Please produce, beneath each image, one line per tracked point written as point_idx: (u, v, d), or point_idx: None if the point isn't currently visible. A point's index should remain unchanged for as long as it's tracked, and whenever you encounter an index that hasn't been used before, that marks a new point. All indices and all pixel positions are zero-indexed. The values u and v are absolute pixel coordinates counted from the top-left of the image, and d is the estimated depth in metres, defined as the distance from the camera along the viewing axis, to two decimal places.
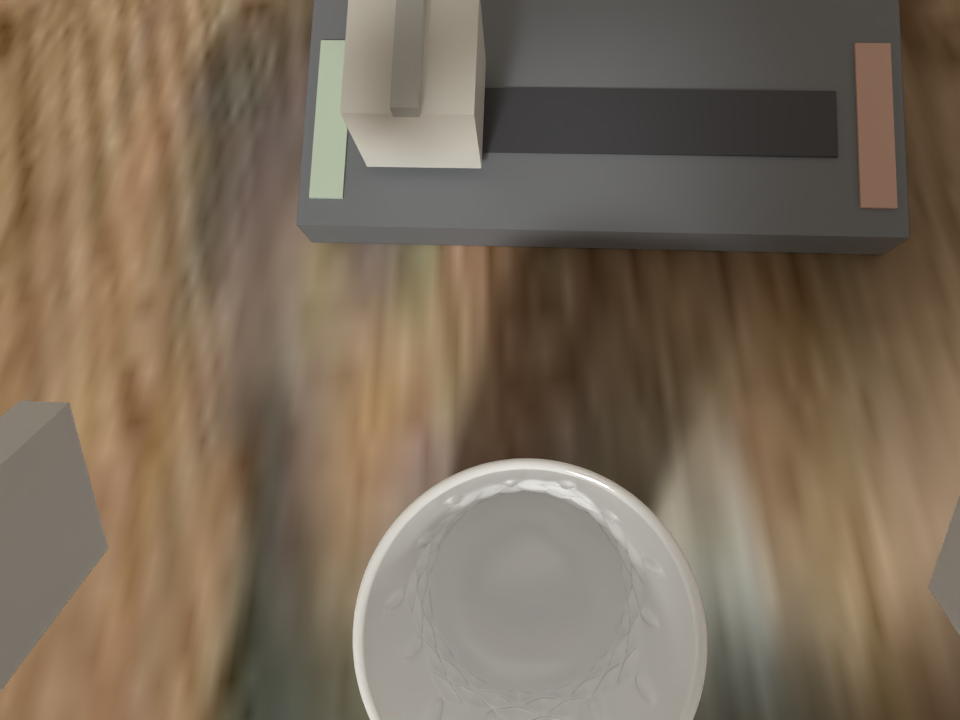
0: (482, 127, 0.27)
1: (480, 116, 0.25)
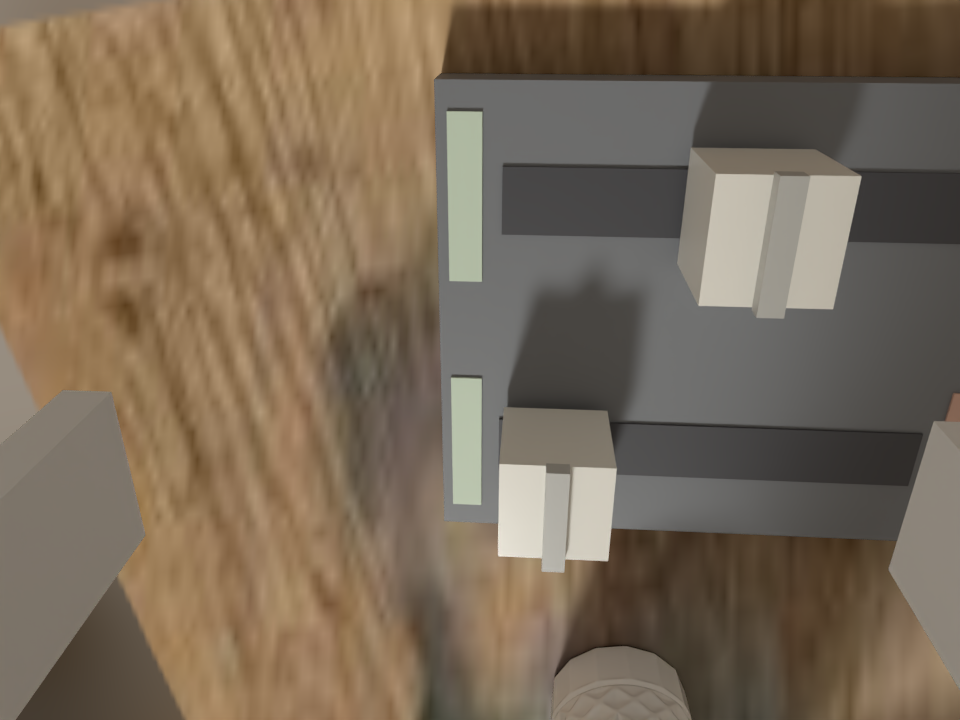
0: None
1: None
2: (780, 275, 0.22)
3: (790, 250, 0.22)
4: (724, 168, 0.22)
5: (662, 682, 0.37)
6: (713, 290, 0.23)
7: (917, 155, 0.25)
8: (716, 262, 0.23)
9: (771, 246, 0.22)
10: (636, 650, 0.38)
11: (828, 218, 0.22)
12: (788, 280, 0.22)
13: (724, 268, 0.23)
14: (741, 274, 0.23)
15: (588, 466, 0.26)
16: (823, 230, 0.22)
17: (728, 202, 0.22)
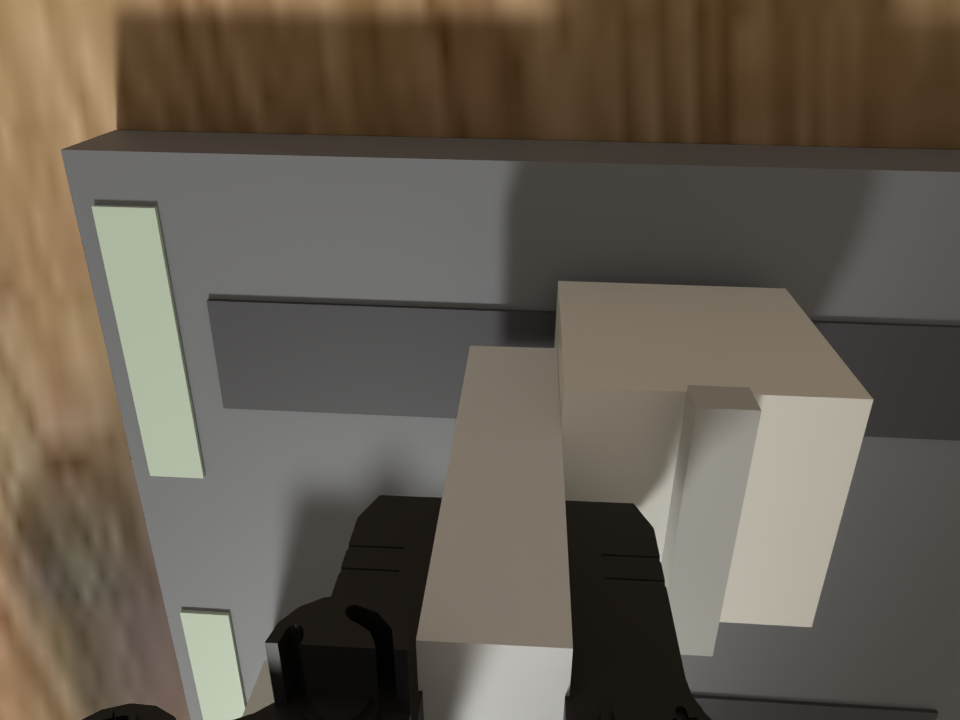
0: None
1: None
2: (703, 585, 0.11)
3: (722, 543, 0.10)
4: (590, 363, 0.11)
5: None
6: None
7: (942, 296, 0.14)
8: None
9: (681, 536, 0.10)
10: None
11: (802, 474, 0.11)
12: (719, 594, 0.11)
13: None
14: None
15: None
16: (792, 495, 0.11)
17: (594, 439, 0.11)
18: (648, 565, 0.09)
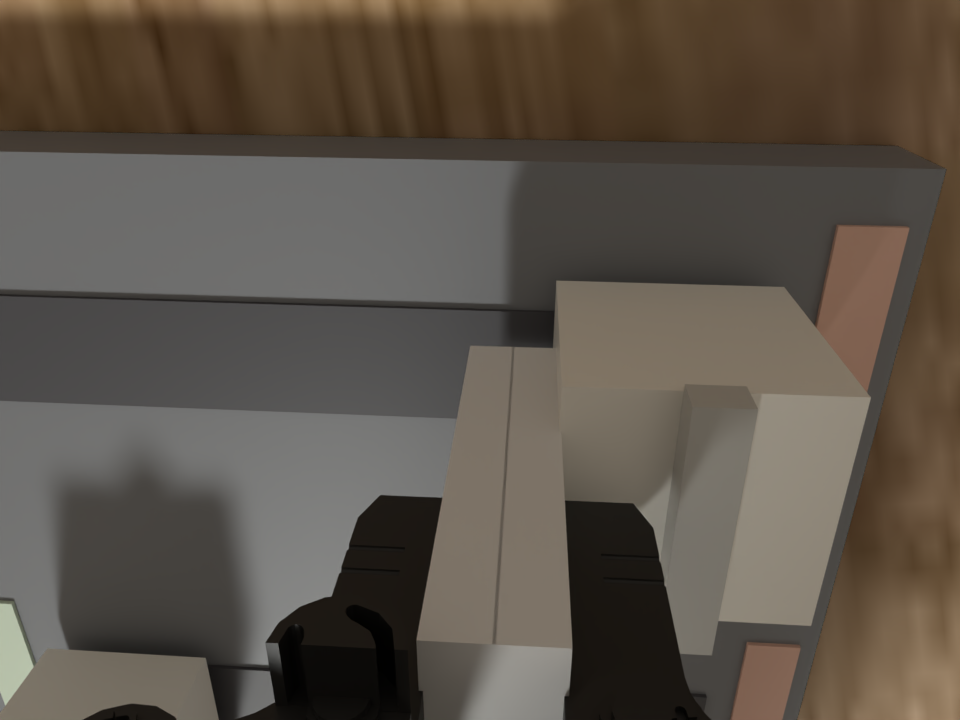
0: None
1: None
2: (702, 585, 0.11)
3: (720, 542, 0.10)
4: (588, 362, 0.11)
5: None
6: None
7: None
8: None
9: (679, 535, 0.10)
10: None
11: (800, 472, 0.11)
12: (718, 593, 0.11)
13: None
14: None
15: None
16: (790, 494, 0.11)
17: (592, 439, 0.11)
18: (648, 565, 0.09)
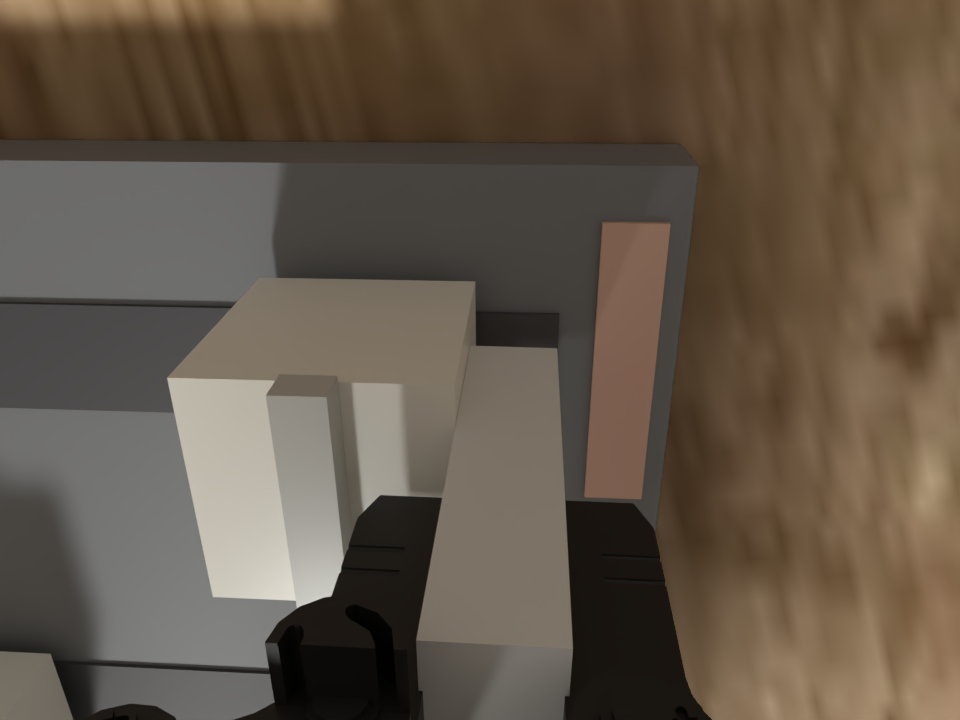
0: None
1: None
2: (323, 568, 0.11)
3: (329, 527, 0.11)
4: (213, 355, 0.11)
5: None
6: (231, 573, 0.12)
7: None
8: (221, 529, 0.12)
9: (289, 519, 0.11)
10: None
11: (410, 458, 0.11)
12: None
13: (238, 539, 0.12)
14: (274, 549, 0.12)
15: None
16: (405, 479, 0.11)
17: (208, 428, 0.11)
18: (648, 565, 0.09)
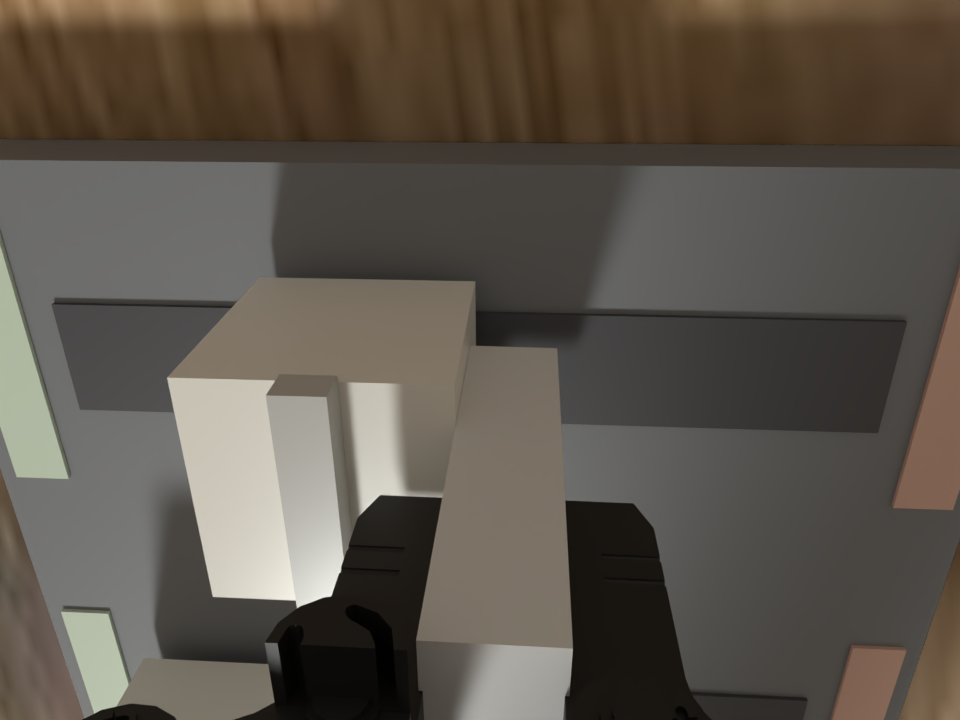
0: None
1: None
2: (323, 568, 0.11)
3: (328, 526, 0.11)
4: (214, 355, 0.11)
5: None
6: (231, 573, 0.12)
7: (760, 289, 0.14)
8: (221, 529, 0.12)
9: (289, 519, 0.11)
10: None
11: (410, 458, 0.11)
12: None
13: (238, 539, 0.12)
14: (274, 549, 0.12)
15: None
16: (405, 479, 0.11)
17: (208, 428, 0.11)
18: (648, 565, 0.09)
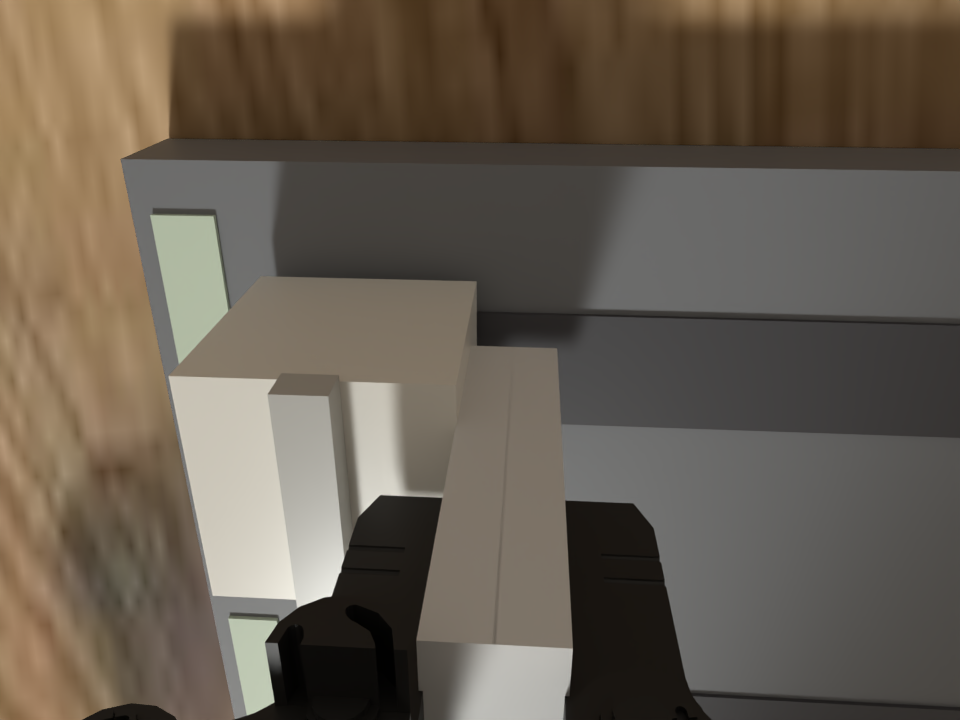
0: None
1: None
2: (323, 567, 0.11)
3: (329, 525, 0.11)
4: (215, 353, 0.11)
5: None
6: (231, 572, 0.12)
7: None
8: (221, 527, 0.12)
9: (290, 519, 0.11)
10: None
11: (410, 458, 0.11)
12: None
13: (239, 538, 0.12)
14: (274, 548, 0.12)
15: None
16: (406, 479, 0.11)
17: (209, 427, 0.11)
18: (648, 565, 0.09)
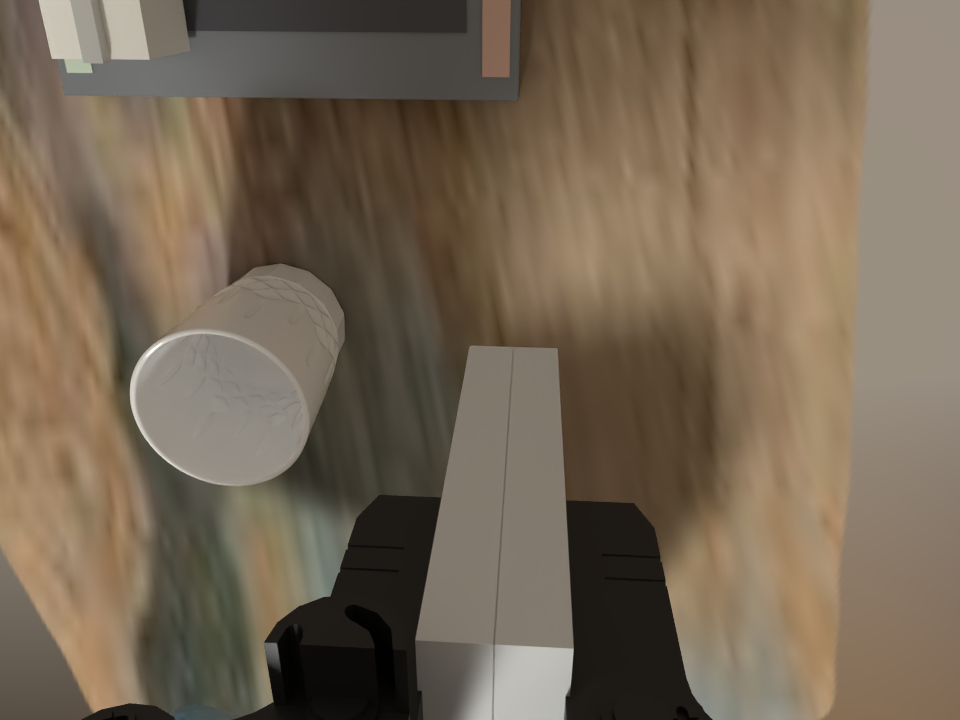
0: (182, 17, 0.33)
1: (171, 23, 0.32)
2: None
3: None
4: None
5: (302, 283, 0.39)
6: None
7: None
8: None
9: None
10: (290, 266, 0.41)
11: None
12: None
13: None
14: None
15: None
16: None
17: None
18: (649, 565, 0.09)
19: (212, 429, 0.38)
